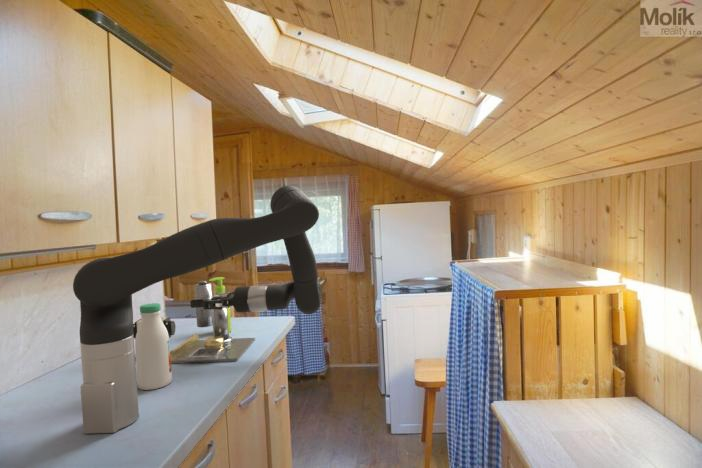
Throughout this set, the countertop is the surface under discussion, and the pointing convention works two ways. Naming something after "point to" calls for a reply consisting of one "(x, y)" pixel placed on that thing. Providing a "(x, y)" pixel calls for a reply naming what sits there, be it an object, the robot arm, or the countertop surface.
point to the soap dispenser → (221, 289)
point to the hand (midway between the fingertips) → (195, 301)
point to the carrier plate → (223, 332)
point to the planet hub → (202, 315)
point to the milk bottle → (152, 350)
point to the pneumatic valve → (166, 321)
